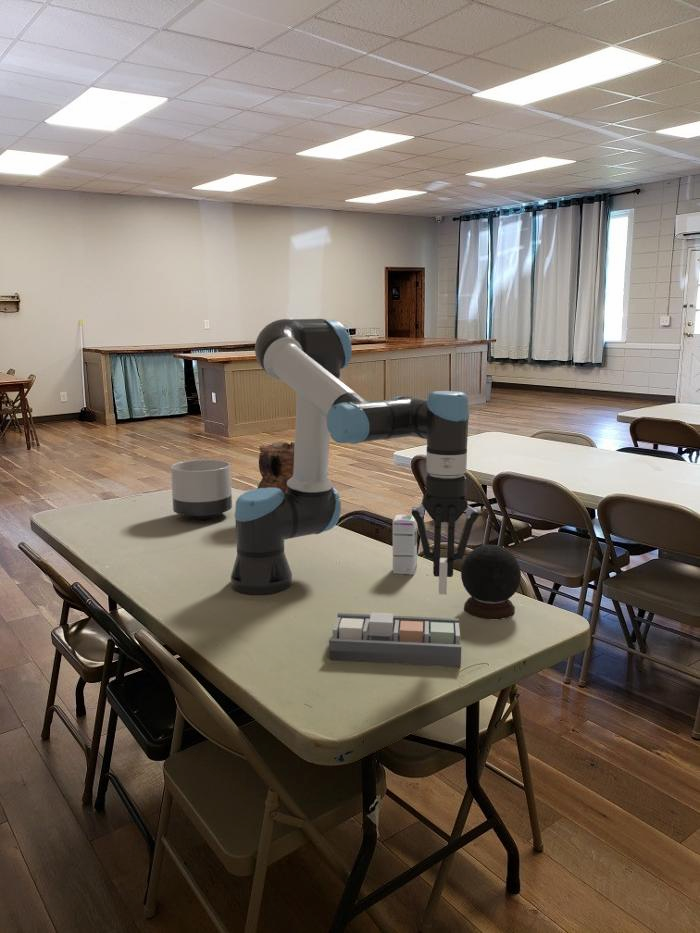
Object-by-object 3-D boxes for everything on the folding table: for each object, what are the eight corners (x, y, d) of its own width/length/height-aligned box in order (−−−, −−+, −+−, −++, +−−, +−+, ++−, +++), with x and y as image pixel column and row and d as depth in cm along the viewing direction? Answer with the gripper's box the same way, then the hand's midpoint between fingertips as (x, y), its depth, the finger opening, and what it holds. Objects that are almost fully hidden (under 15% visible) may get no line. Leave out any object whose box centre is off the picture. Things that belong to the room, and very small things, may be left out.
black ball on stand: (481, 625, 150) (483, 558, 147) (448, 603, 162) (450, 541, 159) (531, 615, 155) (534, 550, 152) (496, 594, 167) (499, 534, 164)
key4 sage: (430, 643, 137) (430, 631, 136) (430, 633, 141) (430, 622, 141) (453, 644, 136) (453, 632, 136) (452, 634, 141) (453, 623, 140)
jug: (266, 508, 244) (264, 438, 239) (325, 510, 241) (325, 439, 236) (249, 526, 223) (246, 449, 218) (313, 529, 220) (312, 451, 215)
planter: (226, 525, 225) (224, 471, 221) (166, 525, 225) (163, 471, 222) (236, 509, 244) (235, 459, 240) (181, 509, 244) (179, 459, 240)
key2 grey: (369, 633, 138) (369, 621, 137) (371, 623, 142) (371, 612, 142) (392, 634, 137) (392, 622, 137) (393, 624, 142) (393, 613, 141)
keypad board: (329, 659, 135) (329, 638, 134) (338, 630, 147) (338, 611, 146) (460, 666, 132) (461, 645, 131) (458, 636, 145) (458, 616, 144)
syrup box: (414, 575, 180) (415, 520, 177) (391, 573, 181) (392, 519, 178) (417, 567, 185) (417, 515, 182) (394, 566, 186) (395, 513, 183)
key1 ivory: (339, 638, 139) (338, 627, 138) (341, 629, 143) (341, 618, 143) (361, 639, 138) (361, 628, 138) (363, 630, 143) (363, 619, 142)
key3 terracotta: (399, 641, 137) (399, 630, 137) (400, 631, 142) (400, 620, 141) (422, 642, 137) (422, 631, 136) (422, 632, 141) (423, 621, 141)
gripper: (410, 477, 129) (408, 597, 134) (482, 479, 128) (477, 600, 132) (411, 468, 136) (409, 583, 141) (479, 470, 135) (475, 586, 140)
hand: (442, 591), depth 137 cm, fingers closed
